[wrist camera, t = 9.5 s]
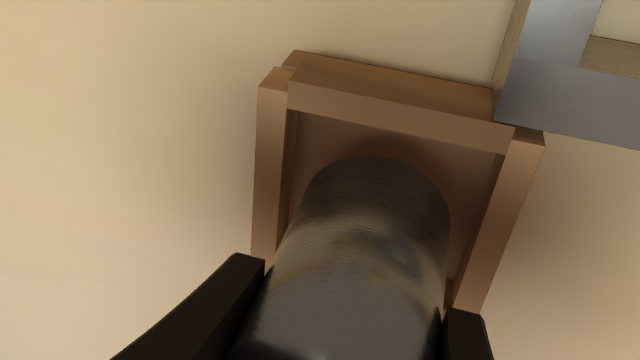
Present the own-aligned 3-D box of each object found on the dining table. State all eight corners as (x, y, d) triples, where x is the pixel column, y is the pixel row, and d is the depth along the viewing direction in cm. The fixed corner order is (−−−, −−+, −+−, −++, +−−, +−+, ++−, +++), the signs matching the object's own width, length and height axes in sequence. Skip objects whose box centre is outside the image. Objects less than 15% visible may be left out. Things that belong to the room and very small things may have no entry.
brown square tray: (472, 279, 17) (470, 334, 15) (273, 230, 18) (249, 277, 16) (541, 90, 13) (550, 134, 12) (287, 41, 14) (258, 74, 13)
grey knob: (470, 179, 12) (453, 506, 7) (428, 291, 14) (388, 610, 9) (312, 137, 13) (169, 412, 7) (294, 252, 15) (172, 533, 9)
